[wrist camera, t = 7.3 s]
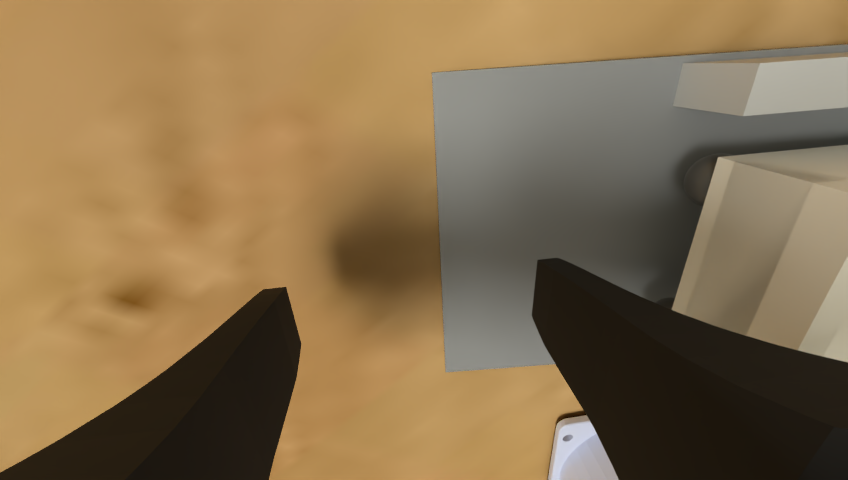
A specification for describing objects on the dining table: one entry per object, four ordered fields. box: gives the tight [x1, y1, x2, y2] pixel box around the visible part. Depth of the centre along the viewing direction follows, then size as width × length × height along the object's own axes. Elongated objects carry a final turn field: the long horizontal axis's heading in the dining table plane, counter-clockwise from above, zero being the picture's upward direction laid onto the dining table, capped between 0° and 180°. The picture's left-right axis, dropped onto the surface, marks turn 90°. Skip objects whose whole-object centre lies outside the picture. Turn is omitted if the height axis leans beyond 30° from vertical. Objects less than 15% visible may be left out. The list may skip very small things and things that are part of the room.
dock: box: [432, 44, 848, 372], centre depth 12 cm, size 12×18×5 cm
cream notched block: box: [655, 145, 848, 362], centre depth 11 cm, size 7×7×5 cm
